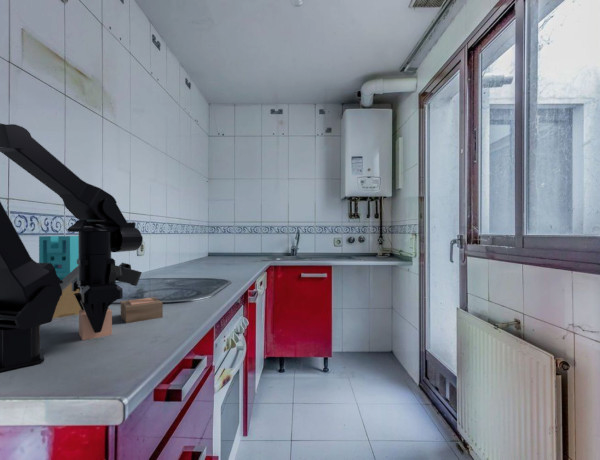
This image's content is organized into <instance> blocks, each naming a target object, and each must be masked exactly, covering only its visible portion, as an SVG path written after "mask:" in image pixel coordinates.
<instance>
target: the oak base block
mask: <svg viewBox="0 0 600 460" xmlns="http://www.w3.org/2000/svg"><path fill="white" fill-rule="evenodd" d="M163 307H164V306H163V301H161V300H160V299H159V298H157V297H155V296H153V297H146V298H145V297H144V298H136V299H129V300H122V301H120V317H121V319H122V320H123V321H124V323H125V324H130V323H137V322H144V321H148V320H157V319H163V317H164V316H163V315H164V314H163V311H164V310H163Z"/></svg>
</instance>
